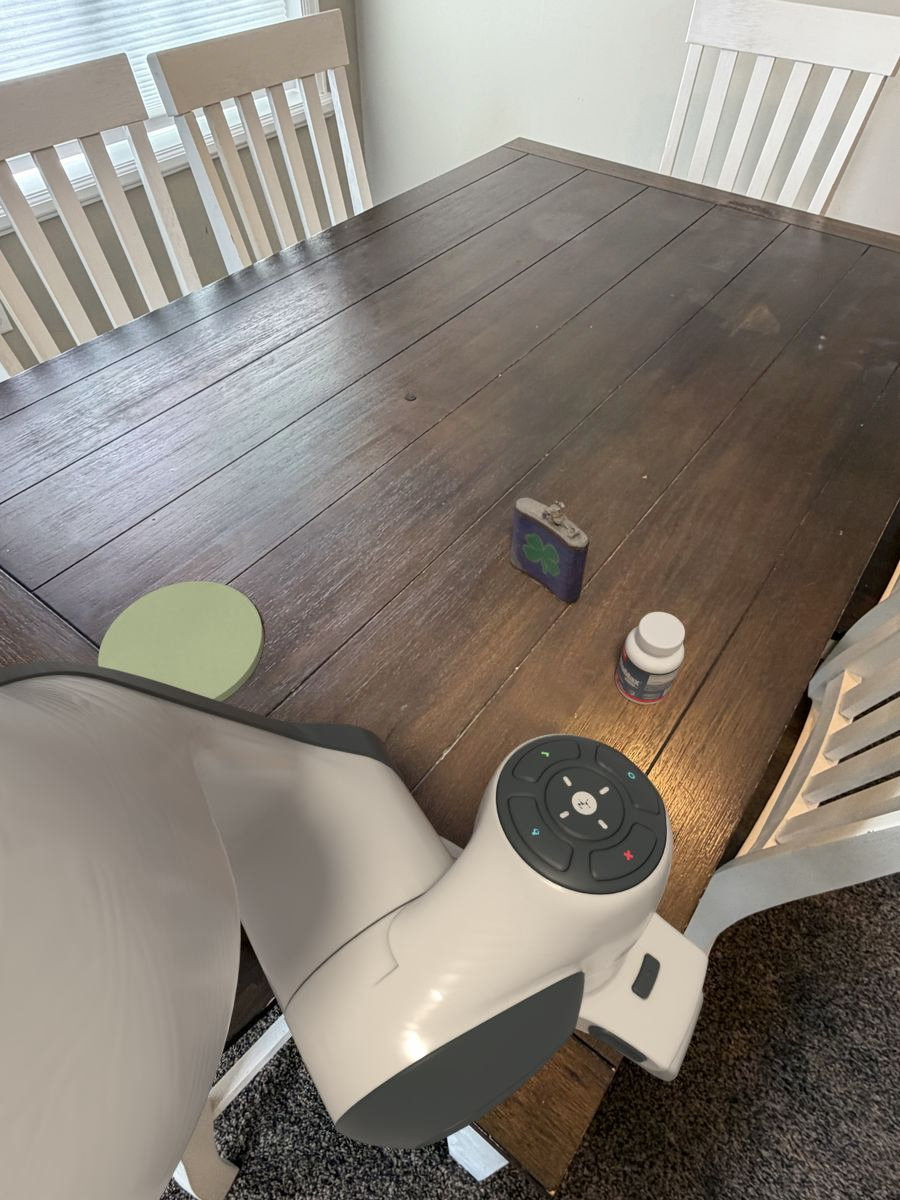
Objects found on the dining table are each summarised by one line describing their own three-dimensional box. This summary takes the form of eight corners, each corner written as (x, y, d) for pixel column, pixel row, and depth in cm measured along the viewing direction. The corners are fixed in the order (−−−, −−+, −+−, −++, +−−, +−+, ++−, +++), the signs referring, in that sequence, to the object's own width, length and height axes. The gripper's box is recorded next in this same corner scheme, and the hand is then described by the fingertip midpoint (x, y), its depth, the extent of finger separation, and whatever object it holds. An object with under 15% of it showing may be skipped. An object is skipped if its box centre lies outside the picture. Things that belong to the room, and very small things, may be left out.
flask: (504, 562, 80) (510, 490, 72) (522, 548, 82) (530, 476, 73) (569, 609, 76) (583, 539, 68) (587, 594, 77) (603, 523, 69)
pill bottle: (606, 666, 72) (621, 611, 65) (655, 655, 73) (676, 599, 66) (627, 711, 69) (645, 659, 62) (678, 700, 69) (702, 646, 62)
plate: (186, 747, 67) (182, 741, 66) (67, 671, 72) (62, 664, 71) (296, 627, 75) (294, 620, 74) (183, 566, 81) (180, 559, 80)
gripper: (360, 870, 43) (379, 935, 53) (698, 1092, 36) (641, 1115, 46) (420, 784, 46) (426, 862, 57) (738, 972, 39) (677, 1020, 50)
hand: (525, 977), depth 52 cm, fingers open, 8 cm apart
